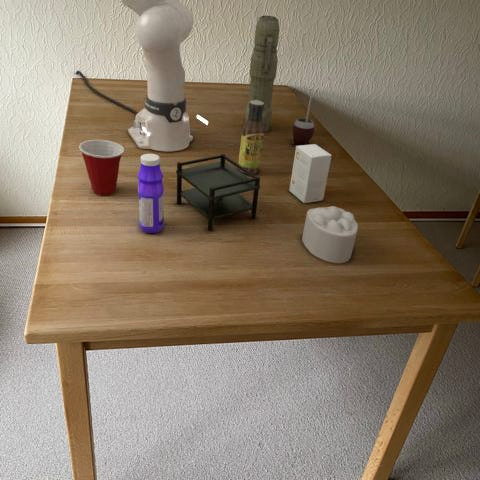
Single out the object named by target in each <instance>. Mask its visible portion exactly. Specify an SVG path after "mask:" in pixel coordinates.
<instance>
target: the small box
mask: <svg viewBox="0 0 480 480" xmlns="http://www.w3.org/2000/svg"><path fill="white" fill-rule="evenodd" d="M332 155H333V154H331V153H329V152H328V151H326V150H325V149H323V148H321V146H319V145H318V144H316V143H313V144H307V145H296V146H295V152H294V158H293V164H292V171H291V176H290V183H289V190H288V191H289V192H290V193H291V194H292V195H294V196H295V197H296V198H297V199H298V200H299V201H300V202H302V203H303V204H308V203H309V204H310V203H314V202H322V201H323V200H324V197H325V191H326V188H327V182H328V176H329V173H330V172H329V171H330V166H331V160H332Z"/></svg>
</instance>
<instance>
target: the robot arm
mask: <svg viewBox="0 0 480 480" xmlns="http://www.w3.org/2000/svg"><path fill="white" fill-rule="evenodd" d="M119 2H120V3H121V4H123V6H124V7H127V8H129V9H131V11H133V12H134V13H135V14H137V15H138V16H139V18H138V20H137V21H136V24H135V27H134V29H135V30H134V31H135V37H136V40H137V43H138V44H139V45H140V47H141V51H142V53H143V58H144V63H145V69H146V86H147V94H146V95H144V97H145V98H144V100H145V101H144V107H143V108H142V109H141V110H140V111H136V110H135V109H133V108H131V107H130V106H127V105H126V104H123V103H121V102H119V101H117V100H115V99H113V98H111V97H109V96H107V95H105V94H103V93H102V92H99V91H98V90H97V89H95V88H94V87H93V86H92V85H91V83H89V82H88V80H87V79H86V76H85V75H84V74H83V73H82V72H81V70H77V71H76V72H75V74H76V75H80V77H81V78H82V79H83V82H84V83H85V85H86V86H87V87H88V88H89V89H90V90H91V91H92V92H93V93H95V94H96V95H98V96H100V97H101V98H103V99H105V100H107V101H110V102H111V103H113V104H115V105H117V106H119V107H121V108H123V109H125V110H128V111H129V112H131V113H133V114H135V119H134V120H133V126H131V127H129V128H128V129H127V132H128V134H129V135H130V137H131V138H132V140H133V141H134V143H135V144H136V146H137V147H138V148H139V149H144V150H153V151H157V152H178V151H182V150H185V149H187V148H188V147H189V146H190V143H191V142H192V141H193V140H194V137H193V135H191V132H190V131H191V130H190V117H189V114H188V113H187V98H186V70H185V67H184V66H183V62H182V55H181V43H183V42H185V41H186V40H187V39H188V38H189V36H190V35H191V33H192V30H193V26H194V17H193V14H192V12H191V10H190V8H189V7H188V6H187V5H186V4H184V3H183V2H181V1H180V0H119ZM196 119H198V120H199V121H201V122H202V123H203V124H205V125H206V126H208V124H209V121H208V120H206V119H205V118H203V117H202V116H200V115H199V114H197V115H196Z"/></svg>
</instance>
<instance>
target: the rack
mask: <svg viewBox="0 0 480 480" xmlns="http://www.w3.org/2000/svg"><path fill="white" fill-rule="evenodd" d="M217 159H220V160H219V161H216V162H215V161H214V162H211V163H206V164H200V165H195V166H190V167H186V168H183V167H184V166H187V165H194V164H198V163H203V162H208V161H213V160H217ZM226 161H227V162H226ZM232 165H233V166H232ZM234 166H235V167H236V168H237V169H236V168H235V167H234ZM238 168H239V169H241V170H242V171H244V172H245V173H243V172H241V171H239V169H238ZM175 173H176V205H179V206H180V205H182V199H184V200H185V201H186V202H187V203H188V204H190V205H191V206H192V207H193V208H195V210H197V211H198V212H199V213H200V214H202V215H203V216H204V217H205V218H207V231H208V232H213V230H214V220H219V219H221V218H225V217H229V216H232V215H237V214H240V213H244V212H248V211H251V212H250V219H251V220H255V219H256V217H257V211H258V210H257V209H258V200H259V194H260V193H259V191H260V189H261V185H260V184H261V177H260V176H258V175H256V174H255V173H254V174H252V173H251V172H249V171H248V170H246V169H245V168H243V167H242V166H240V165H239V163H237V161H234V160H233V159H231V158H230V157H228V156H227V155H226V153H221V154H218V155H213V156H208V157H203V158H198V159H193V160H188V161H181V162H180V161H178V162H177V163H176V170H175ZM246 173H247V175H246ZM249 177H251V178H249ZM183 180H184V181H185V182H187V183H188V184H189V185H191V186H192V187H193V188H189V189H184V190H183V189H182V188H183V187H182V185H183ZM251 191H253V193H252V194H253V195H252V202H250V201H249V200H247V199H246V198H245V197H244V196H243V195H241V194H244V193H247V192H248V193H249V192H251Z"/></svg>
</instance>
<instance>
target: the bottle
mask: <svg viewBox="0 0 480 480" xmlns="http://www.w3.org/2000/svg"><path fill="white" fill-rule="evenodd" d="M160 158H161V157H160V156H159V155H158V154H156V153H144V154H142V155H141V156H140V166H139V167H140V168H139V171H138V173H137V179H138V184H137V192H138V212H139V215H138V216H139V219H138V224H139V227H140V230H141V231H142V232H143V233H147V234H150V233H151V234H157V233H160V232H161V231H162V230H163V228H164V224H165V217H164V211H165V210H164V181H163V179H164V174H163V172H162V169H161V159H160Z"/></svg>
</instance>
